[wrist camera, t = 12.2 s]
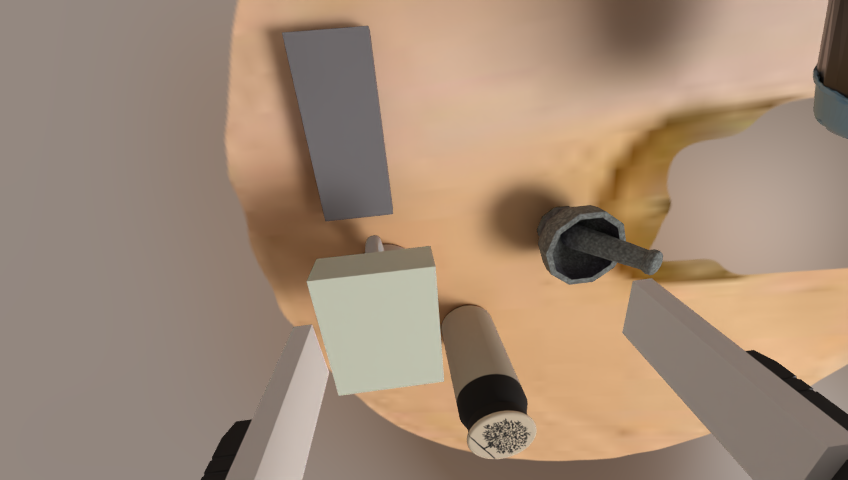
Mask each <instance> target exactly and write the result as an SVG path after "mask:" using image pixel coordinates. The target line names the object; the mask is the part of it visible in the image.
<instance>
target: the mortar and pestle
mask: <svg viewBox="0 0 848 480" xmlns="http://www.w3.org/2000/svg"><path fill="white" fill-rule="evenodd" d="M537 232H538V236H539V241H538V245H539V249H540V253H541V256H542V260H543V263H544V265H545V267H546V269H547V270H548V271H549V272H550V274H551V275H553V276H555V277H557V278H558V279H560V280H562V281H564V282H566V283H567V284H569V285H570V284H578V283H587V282H593V281H595V280H596V279H598V278H599V277H601V276H602V275H604V274H605V273H607V272H608V271H610V270H611V269H613V268H614V267H615V265H616V263H617V262H618V263H621V264H624V265H628V266H631V267H634V268H638V269H641V270H642V271H643V272H644V273H645V274H648V275H653V274H654V273H655V272H657V270H658V269H659V268H660V266H661V263H662V258H663V254H662V253H661V252H660V251H658V250H647V249H645V248H642V247H639V246H636V245H634V244H631V243H628V242H626V239H625V231H624V224H623V223H622V222H620V221H619V220H617V219H616V218H614V217H613V216H611V215H610V214H609V213H607V212H606V211H604V210H602V209H600V208H598V207H595V206H591V205H588V206H578V207H569V206H565V207H556V208H553V209H552V210H551V211H549V212H548V213H547V214H545V215H544V216H543V217H542V219H541V221H540V224H539V226H538V228H537Z"/></svg>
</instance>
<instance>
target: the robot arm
mask: <svg viewBox="0 0 848 480" xmlns="http://www.w3.org/2000/svg"><path fill="white" fill-rule="evenodd" d="M813 80H814V83H815V84H816V86H815V96H814V107H813V111H814V115H815V118H816V119H817V121H818V122H819V123H820V124H822V125H823V126H825V127H826V129H827V130H828V131H830V132H832V133H834V134H836V135H838V136H841V137H843V138H846V139H848V0H829V2H828V7H827V13H826V19H825V24H824V30H823V35H822V41H821V47H820V52H819V58H818V63H817V65H816V67H815V68H814V71H813ZM622 333H623V334H624V335H625V336H626V337H627V339H628V340H629V341H630V342H631V343H632V344H633V345H634V346H635V348H636V349H637V350H638V351H639V352H640V353H641V354H642V355H643V357H644V358H645V359H646V360H647V361H648V362H649V363H650V364H651V366H652V367H653V368H654V369H655V370H656V371H657V372H658V373H659V375H660V376H661V377H662V378H663V379H664V380H665V381H666V382H667V384H668V385H669V386H670V387H671V388H672V389H673V390H674V391H675V393H676V394H677V395H678V396H679V397H680V398H681V399H682V400H683V402H684V403H685V404H686V405H687V406H688V407H689V408H690V409H691V411H692V412H693V413H694V414H695V415H696V416H697V417H698V418H699V420H700V421H701V422H702V423H703V424H704V425H705V426H706V427H707V429H708V430H709V431H710V432H711V433H712V434H713V435H714V436H715V437H716V439H717V440H718V441H719V442H720V443H721V444H722V445H723V446H724V448H725V449H726V450H727V451H728V452H729V453H730V454H731V456H732V457H733V458H734V459H735V460H736V461H737V462H738V463H739V464H740V466H741V467H742V468H743V469H744V470H745V471H746V472H747V474H748V475H749V476H750V477H751V478H752V479H753V480H848V414H847V413H845V412H844V411H843V410H841V409H840V408H839V407H837V406H836V405H835V404H833V403H831V402H830V401H829V400H828V399H826V398H825V397H824V396H822V395H821V394H819V393H818V392H815V391H813V388H812V387H810V386H809V385H808V384H806V383H805V382H803V381H802V380H801V379H797V378H796V376H795V375H794V374H793V373H791V372H790V371H789V370H787V369H786V368H785V367H783V366H782V365H780V364H779V363H778V362H776V361H774V360H772V359H770V358H768V357H766V356H764V355H762V354H760V353H758V352H756V351H754V350H751V351H744V350H743V349H742V348H740V347H739V346H738V345H736V344H735V343H734V342H733V341H731V340H730V339H729V338H727V337H726V336H725V335H724V334H722V333H721V332H720V331H718V330H717V329H716V328H715V327H713V326H712V325H711V324H709V323H708V322H707V321H706V320H704V319H703V318H702V317H700V316H699V315H698V314H697V313H695V312H694V311H693V310H691V309H690V308H689V307H688V306H686V305H685V304H684V303H682V302H681V301H680V300H679V299H677V298H676V297H675V296H673V295H672V294H671V293H670V292H668V291H667V290H666V289H664V288H663V287H662V286H661V285H659V284H658V283H657V282H655V281H654V280H653V279H644V280H637V281H633V283H632V288H631V293H630V298H629V303H628V308H627V313H626V318H625V323H624V327H623V332H622ZM328 375H329V371H328V368H327V366H326V363H325V360H324V357H323V354H322V351H321V348H320V346H319V343H318V340H317V337H316V334H315V331H314V328H313V326H312V324H311V325H304V326H297V327H293V329H292V331H291V333H290V336H289V338H288V340H287V342H286V345H285V347H284V349H283V351H282V353H281V356H280V358H279V360H278V362H277V365H276V367H275V369H274V372H273V374H272V376H271V378H270V380H269V383H268V385H267V387H266V390H265V392H264V394H263V396H262V398H261V401H260V403H259V405H258V407H257V410H256V412H255V414H254V417H253V419H252V420H245V421H237V422H235V424H234V425H233V426H232V427H231V428H230V429H229V431H228V432H227V433H226V434H225V435H224V436H223V437H222V439H221V441H220V443H219V445H218V447H217V449H216V451H215V453H214V455H213V456H212V461H210V463H209V464H208V466H207V468H206V470H205V472H204V477H202V478H201V480H302V478H303V474H304V470H305V466H306V462H307V458H308V454H309V450H310V446H311V442H312V438H313V434H314V430H315V426H316V422H317V418H318V414H319V410H320V407H321V403H322V399H323V395H324V391H325V386H326V382H327V379H328Z"/></svg>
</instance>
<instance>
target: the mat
mask: <svg viewBox="0 0 848 480" xmlns="http://www.w3.org/2000/svg"><path fill="white" fill-rule="evenodd" d="M282 35H283V39H284V44H285V48H286V52H287V57H288V61H289V65H290V70H291V74H292V78H293V83H294V87H295V91H296V96H297V100H298V104H299V109H300V113H301V117H302V122H303V126H304V130H305V135H306V139H307V143H308V148H309V152H310V156H311V161H312V165H313V169H314V174H315V178H316V182H317V187H318V191H319V195H320V200H321V204H322V208H323V213H324V217H325V221H334V220H343V219H352V218H361V217H370V216H380V215H389V214H393V206H392V198H391V190H390V183H389V175H388V167H387V159H386V152H385V144H384V136H383V129H382V121H381V113H380V106H379V98H378V90H377V82H376V75H375V67H374V59H373V52H372V44H371V36H370V30H369V27H368V26H360V27H347V28H335V29H322V30H310V31H297V32H284V33H282Z"/></svg>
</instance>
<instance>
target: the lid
mask: <svg viewBox="0 0 848 480" xmlns="http://www.w3.org/2000/svg"><path fill="white" fill-rule="evenodd" d="M307 285H308V288H309V292H310V295H311V299H312V303H313V306H314V310H315V313H316V317H317V320H318V324H319V327H320V331H321V334H322V338H323V342H324V345H325V349H326V352H327V356H328V359H329V363H330V366H331V370H332V373H333V377H334V380H335V384H336V387H337V391H338V395H347V394H355V393H362V392H370V391H377V390H384V389H392V388H399V387H407V386H414V385H421V384H429V383H436V382H444V373H443V360H442V346H441V333H440V320H439V306H438V293H437V279H436V266H435V262H434V258H433V254H432V250H431V246H426V247H417V248H408V249H399V250H390V251H382V252H373V253H364V254H355V255H346V256H338V257H329V258H320V259H316V261H315V263H314V266H313V268H312V270H311V273H310V275H309V277H308V279H307Z"/></svg>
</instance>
